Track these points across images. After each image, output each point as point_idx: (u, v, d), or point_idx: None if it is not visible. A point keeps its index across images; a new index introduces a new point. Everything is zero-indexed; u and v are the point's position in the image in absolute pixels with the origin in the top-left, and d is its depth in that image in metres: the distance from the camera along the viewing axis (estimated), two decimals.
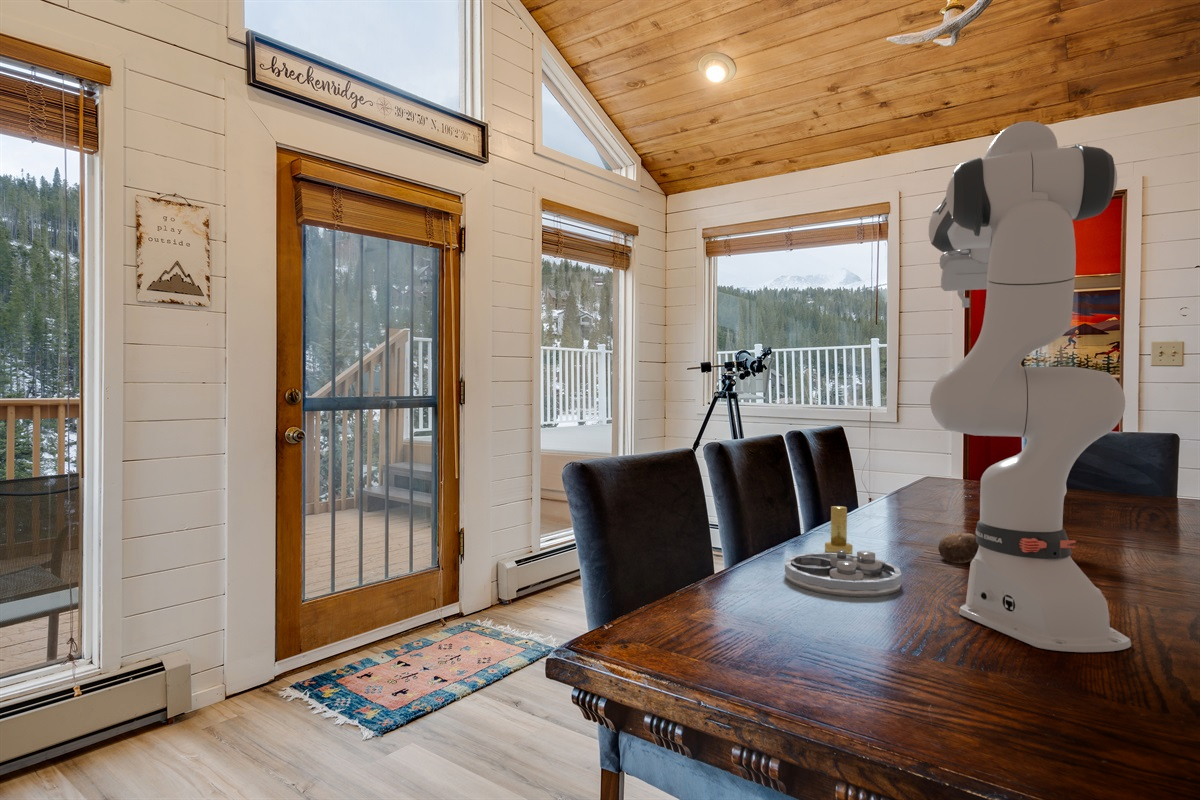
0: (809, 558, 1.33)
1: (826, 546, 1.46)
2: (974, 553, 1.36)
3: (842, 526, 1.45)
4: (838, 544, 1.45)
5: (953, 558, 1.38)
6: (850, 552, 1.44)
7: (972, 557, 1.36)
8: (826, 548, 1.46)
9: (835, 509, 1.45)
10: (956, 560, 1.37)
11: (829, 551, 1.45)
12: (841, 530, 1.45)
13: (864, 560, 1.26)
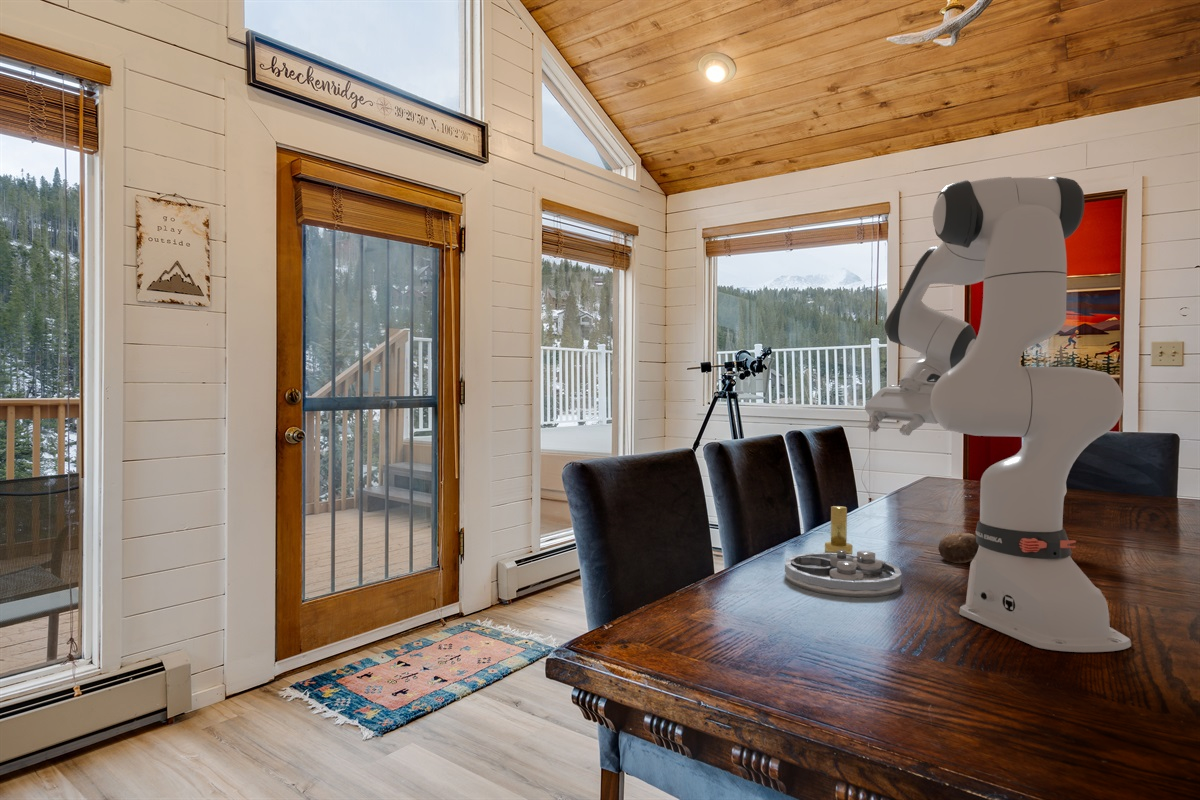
0: (809, 558, 1.33)
1: (826, 546, 1.46)
2: (974, 553, 1.36)
3: (842, 526, 1.45)
4: (838, 544, 1.45)
5: (953, 557, 1.38)
6: (850, 552, 1.44)
7: (972, 557, 1.36)
8: (826, 548, 1.46)
9: (835, 509, 1.45)
10: (956, 560, 1.37)
11: (829, 551, 1.45)
12: (841, 530, 1.45)
13: (864, 560, 1.26)
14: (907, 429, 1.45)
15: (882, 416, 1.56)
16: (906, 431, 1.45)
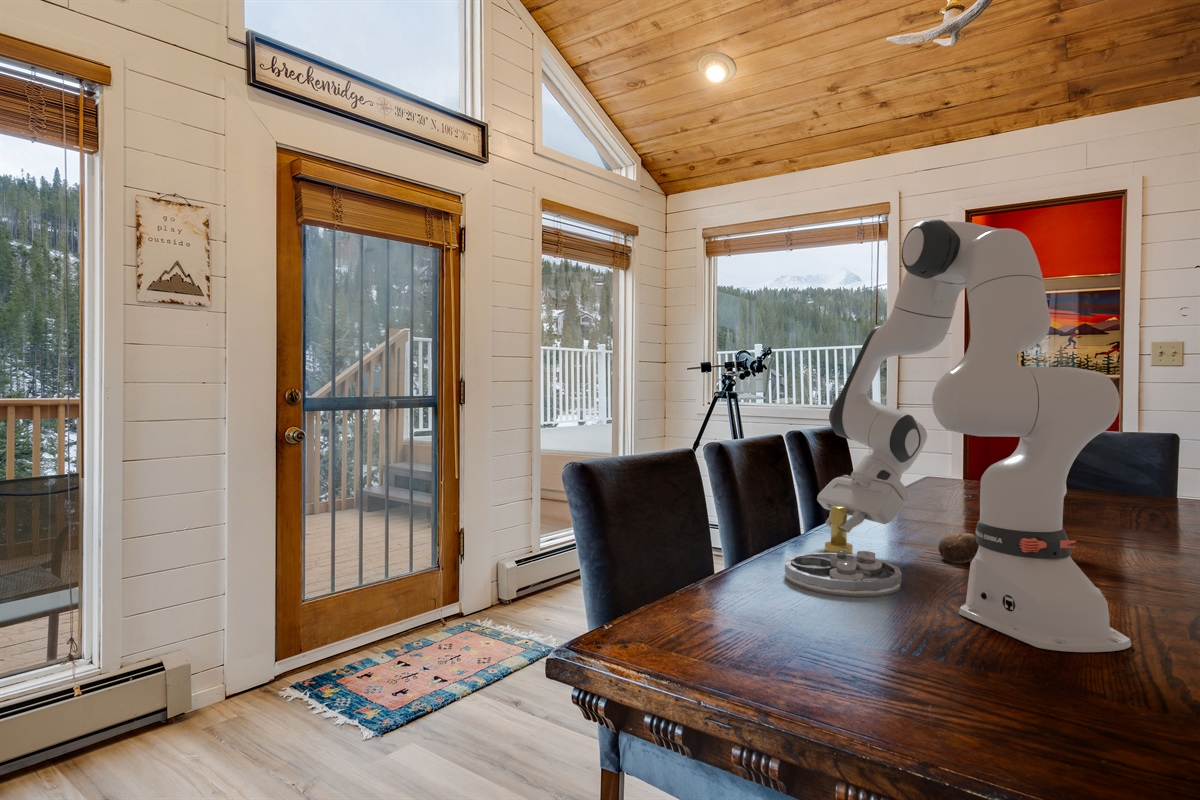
0: (809, 558, 1.33)
1: (826, 546, 1.46)
2: (974, 553, 1.36)
3: None
4: (838, 544, 1.45)
5: (953, 557, 1.38)
6: (850, 552, 1.44)
7: (972, 557, 1.36)
8: (826, 548, 1.46)
9: (835, 509, 1.45)
10: (956, 560, 1.37)
11: (829, 551, 1.45)
12: (841, 530, 1.45)
13: (864, 560, 1.26)
14: (847, 526, 1.43)
15: None
16: (846, 528, 1.43)
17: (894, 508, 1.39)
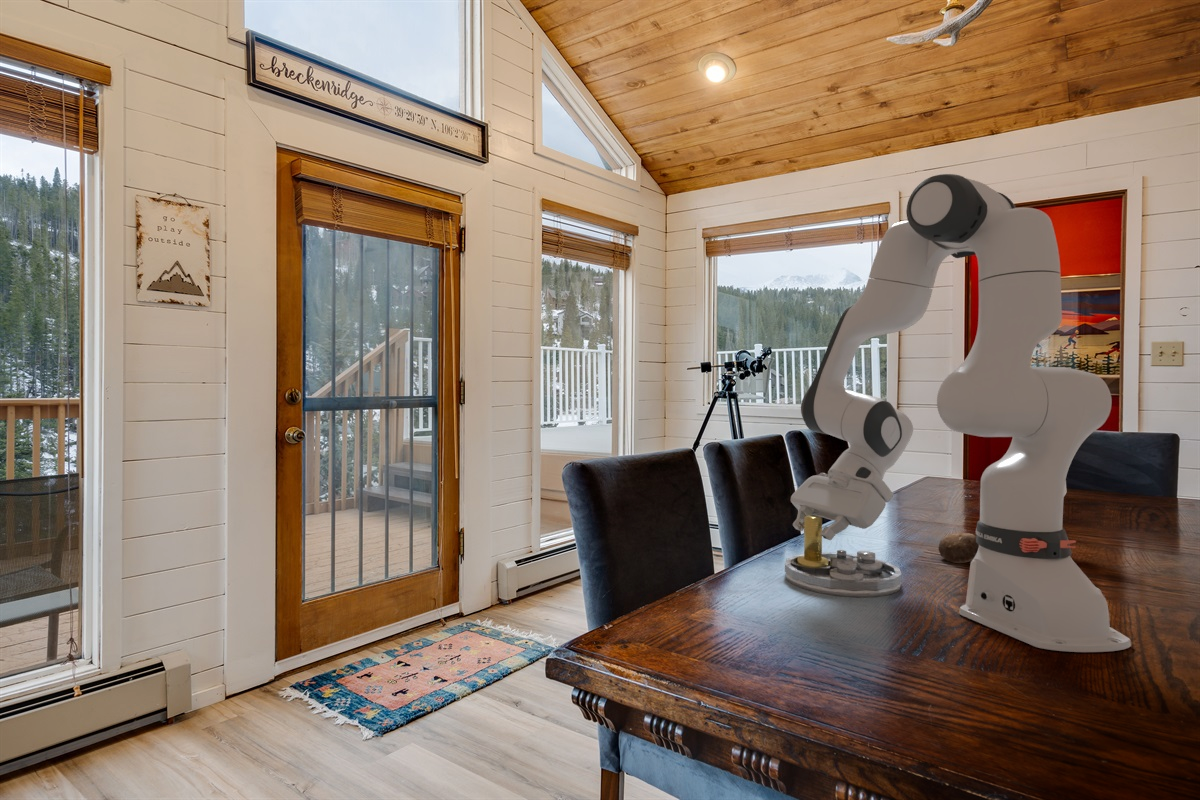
0: None
1: (798, 561, 1.29)
2: (974, 553, 1.36)
3: (816, 539, 1.28)
4: (812, 559, 1.28)
5: (953, 557, 1.38)
6: None
7: (972, 557, 1.36)
8: (798, 563, 1.29)
9: (808, 519, 1.28)
10: (956, 560, 1.37)
11: None
12: (815, 543, 1.28)
13: (864, 560, 1.26)
14: (829, 533, 1.25)
15: (810, 511, 1.35)
16: (828, 535, 1.25)
17: (875, 510, 1.22)
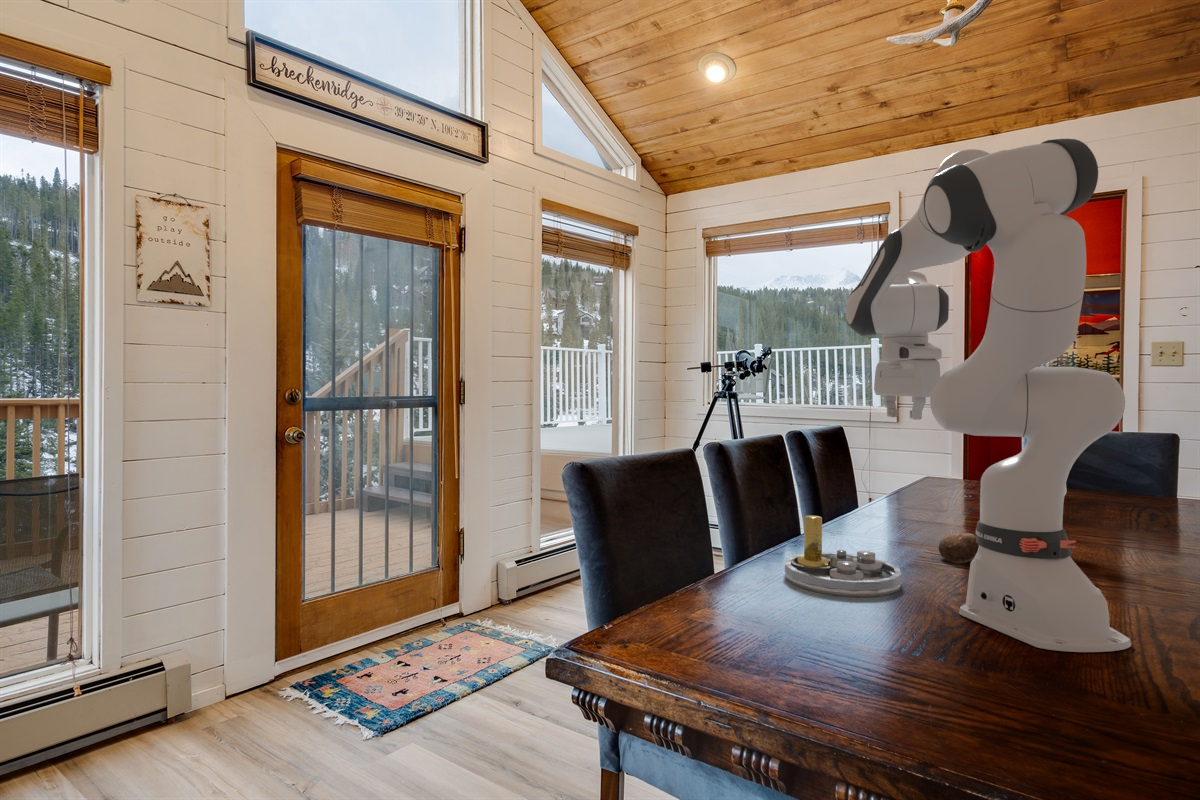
0: None
1: (798, 561, 1.29)
2: (974, 553, 1.36)
3: (816, 539, 1.28)
4: (812, 559, 1.28)
5: (953, 557, 1.38)
6: None
7: (972, 557, 1.36)
8: (798, 563, 1.29)
9: (808, 519, 1.28)
10: (956, 560, 1.37)
11: None
12: (815, 543, 1.28)
13: (864, 560, 1.26)
14: (915, 415, 1.37)
15: (894, 395, 1.48)
16: (916, 417, 1.37)
17: (933, 378, 1.32)
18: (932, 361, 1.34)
